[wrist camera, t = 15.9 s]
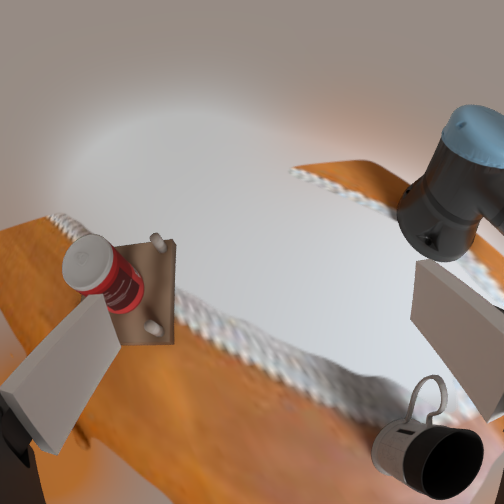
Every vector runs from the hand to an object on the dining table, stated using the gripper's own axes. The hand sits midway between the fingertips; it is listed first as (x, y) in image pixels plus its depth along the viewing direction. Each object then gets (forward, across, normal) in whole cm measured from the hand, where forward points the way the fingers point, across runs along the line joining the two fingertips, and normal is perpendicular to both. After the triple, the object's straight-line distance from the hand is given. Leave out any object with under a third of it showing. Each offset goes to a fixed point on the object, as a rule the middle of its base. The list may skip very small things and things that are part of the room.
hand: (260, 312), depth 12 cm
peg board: (+30, -22, -12) cm, 39 cm away
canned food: (+28, -22, -11) cm, 37 cm away
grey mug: (+13, +16, -29) cm, 36 cm away
